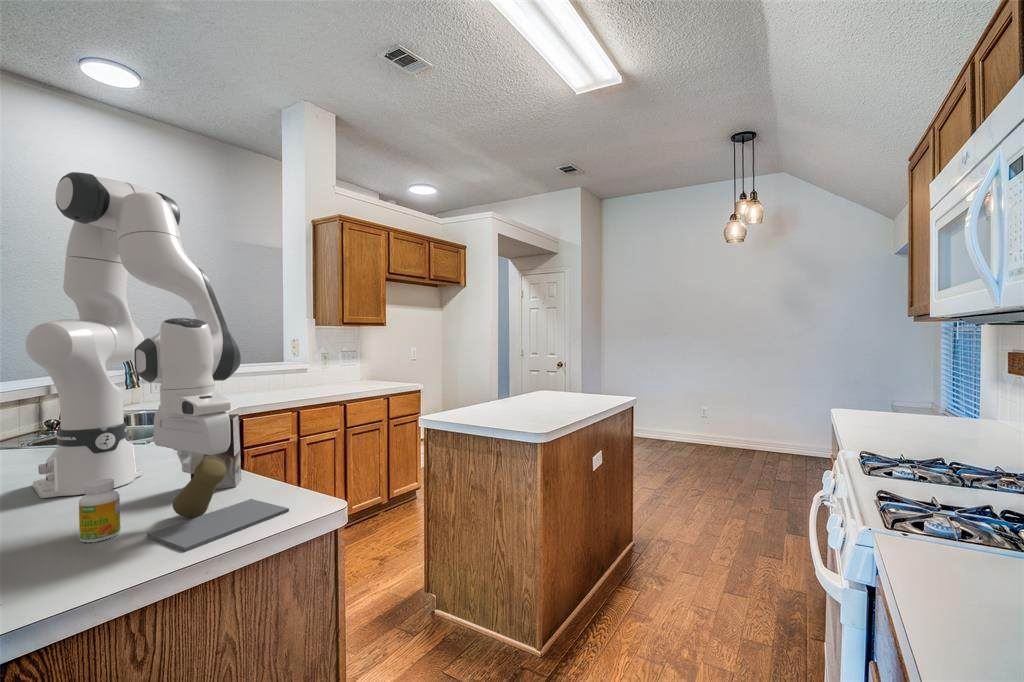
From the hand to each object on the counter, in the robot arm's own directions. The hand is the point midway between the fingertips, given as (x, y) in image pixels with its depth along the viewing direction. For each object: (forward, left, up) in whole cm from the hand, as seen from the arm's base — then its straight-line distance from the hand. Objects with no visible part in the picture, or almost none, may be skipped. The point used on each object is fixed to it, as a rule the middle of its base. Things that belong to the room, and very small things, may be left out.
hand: (191, 472), depth 92 cm
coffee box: (-14, +13, -9) cm, 21 cm away
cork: (-1, 0, -7) cm, 7 cm away
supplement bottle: (-4, -13, -9) cm, 16 cm away
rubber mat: (+9, 0, -8) cm, 13 cm away
